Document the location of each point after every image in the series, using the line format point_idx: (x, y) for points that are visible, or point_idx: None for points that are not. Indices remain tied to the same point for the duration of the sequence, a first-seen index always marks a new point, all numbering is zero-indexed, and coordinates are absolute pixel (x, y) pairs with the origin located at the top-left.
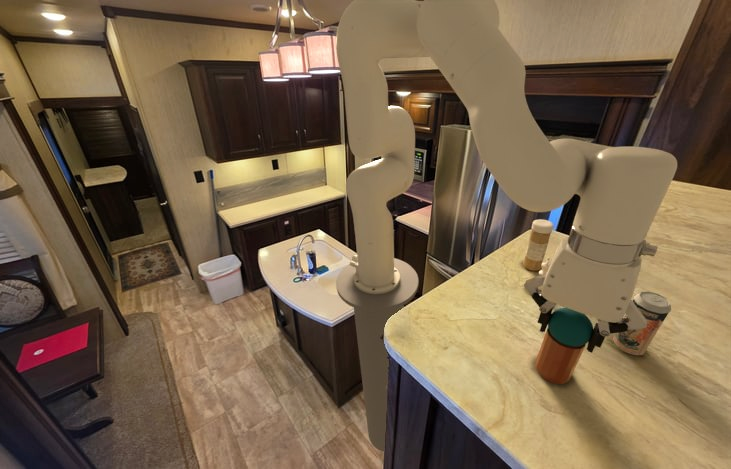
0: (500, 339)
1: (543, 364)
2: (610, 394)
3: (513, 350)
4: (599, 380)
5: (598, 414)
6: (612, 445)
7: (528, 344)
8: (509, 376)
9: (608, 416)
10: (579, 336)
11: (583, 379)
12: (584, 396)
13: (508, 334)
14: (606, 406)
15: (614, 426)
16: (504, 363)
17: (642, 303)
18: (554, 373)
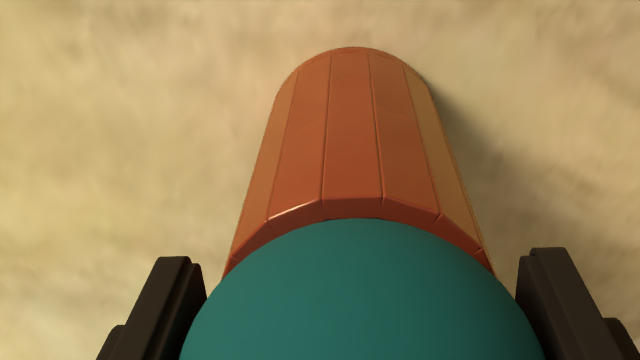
0: (60, 99)
1: None
2: (620, 91)
3: (152, 128)
4: (573, 35)
5: (562, 226)
6: (604, 310)
7: (191, 30)
8: (214, 274)
9: (600, 211)
10: None
11: (497, 83)
12: (507, 178)
13: (67, 29)
14: (596, 170)
15: (619, 239)
16: (163, 228)
17: None
18: None
